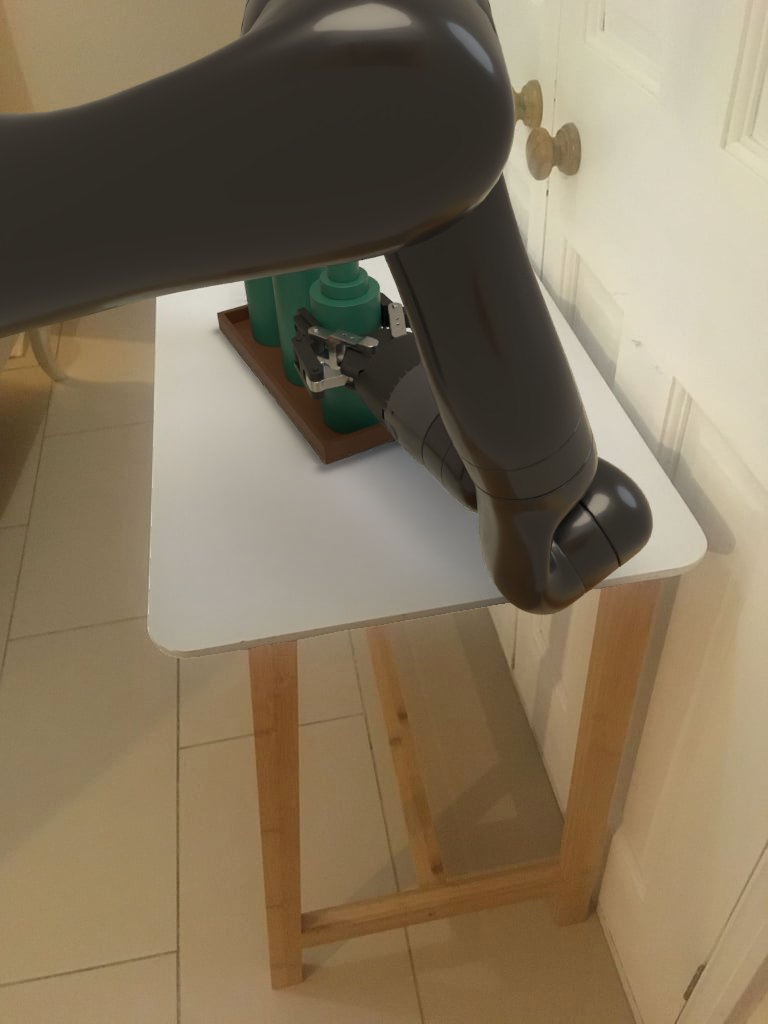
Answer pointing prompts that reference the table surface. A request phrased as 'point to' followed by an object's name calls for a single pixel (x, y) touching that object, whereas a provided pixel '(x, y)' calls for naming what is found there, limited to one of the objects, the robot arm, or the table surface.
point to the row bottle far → (262, 311)
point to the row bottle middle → (292, 312)
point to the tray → (295, 393)
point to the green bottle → (356, 309)
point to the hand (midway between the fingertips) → (334, 308)
